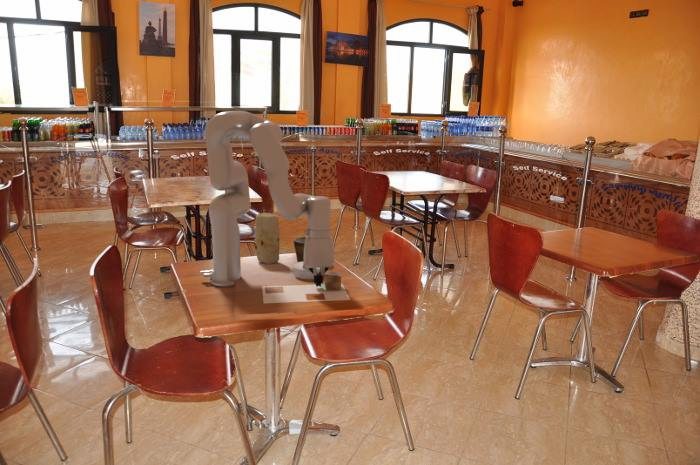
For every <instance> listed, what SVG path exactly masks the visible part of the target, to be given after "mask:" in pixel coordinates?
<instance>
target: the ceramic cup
mask: <svg viewBox="0 0 700 465" xmlns="http://www.w3.org/2000/svg"><path fill="white" fill-rule="evenodd" d="M306 237H307V236H299V237H298V236H297V237H295V238H293V246H294V250H295V256H296V261H297V262H303V261H304V260H303V256H304V244H305V239H306ZM297 262H296V263H297Z"/></svg>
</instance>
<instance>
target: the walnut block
mask: <svg viewBox="0 0 700 465" xmlns="http://www.w3.org/2000/svg"><path fill="white" fill-rule="evenodd" d="M324 284H325V288H326V291H336V290H341V284H342V275H341V273H340V271H326V272H325V273H324Z"/></svg>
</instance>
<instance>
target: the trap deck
mask: <svg viewBox="0 0 700 465" xmlns="http://www.w3.org/2000/svg"><path fill="white" fill-rule="evenodd" d="M266 288H282V291H283V292H269V293H268V292H267V291H266ZM261 289H262V301H263V302H262V303H263V304H283V303H285V304H286V303H304V302H305V303H306V302H311V303H312V302H332V301H350V300H351V298H350V296H349V294H348V292H347V290H346V288H345V286H344V284H343V283H341V290H336V291H326V288H325V283H324V284H323V283H321V287H319V286H318V287H316V284H297V285H296V284H294V285H293V284H292V285H291V284H290V285H264V286H261ZM318 294H319V295H321V294H323V296H324V299H313V300H312V299H311V300H308V299H307V295H318Z"/></svg>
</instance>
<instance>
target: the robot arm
mask: <svg viewBox="0 0 700 465" xmlns="http://www.w3.org/2000/svg"><path fill="white" fill-rule="evenodd" d="M233 137H234V138H235V137H244V138H248V140H249V142H250V144H251V146H252V148H253V151H254V152H255V154H256V156H257V158H258V160H259V162H260V163H261V165H262V168H263V169H264V172H265V173H266V174H265V175H266V178H267V185H268V189H269V190H268V191H269V194H270V196H271V200H272V201H273V203H274V205H275V207H276V209H277V211H278V212H279V214H280V215H281V216H282V217H283V218H284V219H286V220H288V221H295V220H298V219H299V218H301V217H303V216H306V215H307V229H303V230H302V231H303V232H302V234H303V235H306V236H305V237H306V239H305V244H304V256H303V260H304V263H303V269H304V270H310V271H311V272H312V273H313V274H314V279H313V285H316V287H318V286H319V287H321V284H323V283H324V276H325V272H328V271H329V270H330V271H331V270H332V269H333V270H334V269H335V247H334V246H335V245H334V239H333V237H332V236H331V208H332V204H331V199H330V197H328V196H322V195H316V196H315V195H310V194H306V193H302V192H301V193H295V194H294V193H293V190H292V187H291V185H290V182H289V175H288V174H289V169H290V165H291V163H290V160H289V159H288V157H287V155H286V152H285V151H284V148H283V147H282V145H281V142H282V140H283V137H284V136H283V130H282V128H281V127H280V126H279V124H277V123H276V122H274V121H271V120H269V119H266V118H264V117H261V116H259V115H257V114H254V113H252V112H249V111H246V110H227V111H226V110H225V111H221V112H219V113H216V114H215V115H214V116H212V117H211V118H210V119H209V120H208V121H207V123H206V125H205V130H204V139H205V146H206V153H207V154H206V155H207V156H206V157H207V164H208V165H207V166H208V175H209V176H208V178H209V182H210V185H211V186H212V188H213V189H214V190H217V191H221V192H223V191H224V193H222V194H219V195H217V196H215V197H214V198H213V199H212V200H211V201H210V203H209V206H208V215H209V221H210V225H211V226H210V227H211V240H212V262H213V263H212V265H213V266H212V269H210V270H200V277H203V278H209V284H210V285H213V286H216V287H222V288H223V287H224V288H225V287H226V288H227V287H235V286H236V281H238V280H240V279H241V277H242V276H241V275H242V272H241V268H242V267H241V232H240V228H239V224H238V219H237V218H240V217H242V216H243V215H245V214H246V213H248V211H249V209H250V205H251V199H250V198H251V197H250V185H249V175H248V172H247V169H246V167H245V166H244V164H243V163H241V162H240V161H238V160H234V155H233V153H234V152H233V148H232V144H231V142H230V139H231V138H233ZM316 268H320V271H319V273H318V272H317V269H316Z"/></svg>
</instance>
